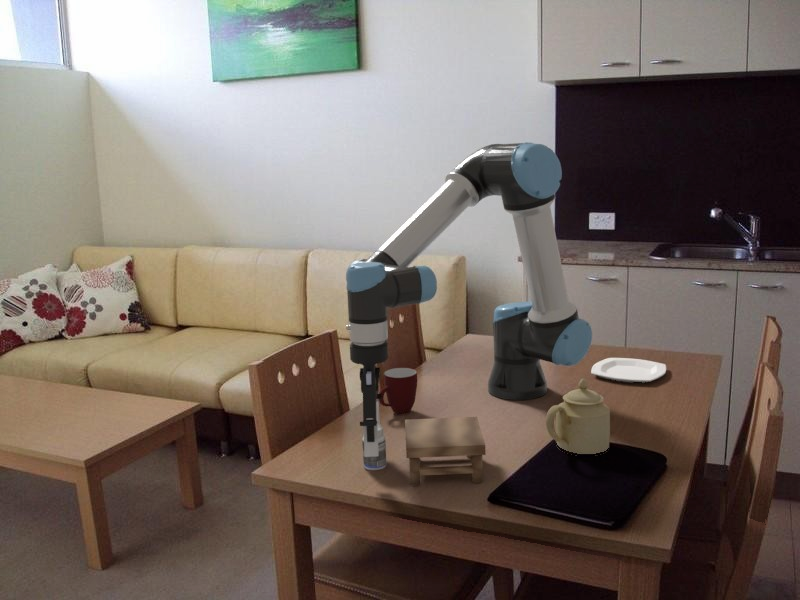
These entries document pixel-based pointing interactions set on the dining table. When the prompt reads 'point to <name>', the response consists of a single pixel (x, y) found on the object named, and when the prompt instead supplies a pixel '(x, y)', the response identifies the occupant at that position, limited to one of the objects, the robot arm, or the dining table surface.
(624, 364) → the plate
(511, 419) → the dining table surface
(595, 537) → the dining table surface
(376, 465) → the pill bottle
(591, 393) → the sugar bowl
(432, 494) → the dining table surface
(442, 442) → the small wooden bench
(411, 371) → the mug
